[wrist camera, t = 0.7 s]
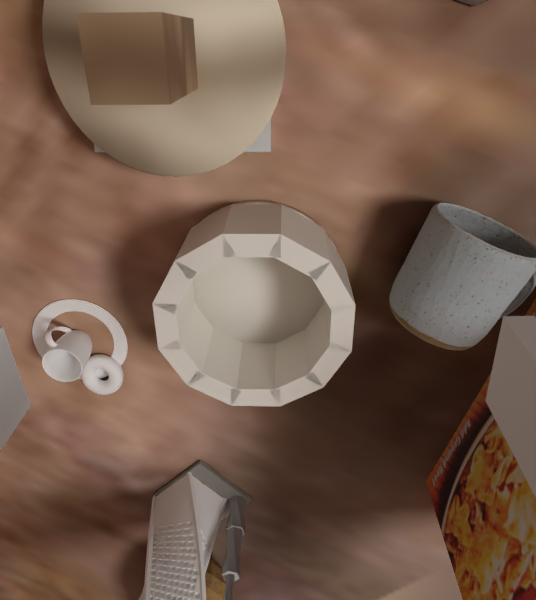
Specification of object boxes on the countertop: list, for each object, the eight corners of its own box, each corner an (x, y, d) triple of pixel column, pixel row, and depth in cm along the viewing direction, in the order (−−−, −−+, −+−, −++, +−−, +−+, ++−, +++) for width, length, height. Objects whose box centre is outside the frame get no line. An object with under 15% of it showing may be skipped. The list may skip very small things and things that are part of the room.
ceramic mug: (373, 289, 39) (394, 343, 32) (421, 191, 35) (456, 228, 28) (494, 327, 40) (538, 386, 34) (552, 236, 37) (615, 282, 30)
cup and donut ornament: (136, 383, 44) (123, 414, 41) (48, 383, 45) (27, 413, 41) (121, 296, 40) (105, 321, 37) (24, 296, 41) (-1, 321, 37)
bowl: (167, 199, 36) (143, 233, 30) (348, 200, 36) (361, 234, 29) (183, 350, 42) (165, 404, 36) (338, 352, 42) (347, 407, 36)
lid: (38, -85, 28) (-88, -147, 19) (287, -89, 28) (288, -155, 18) (83, 167, 35) (6, 215, 25) (285, 166, 34) (285, 216, 25)
